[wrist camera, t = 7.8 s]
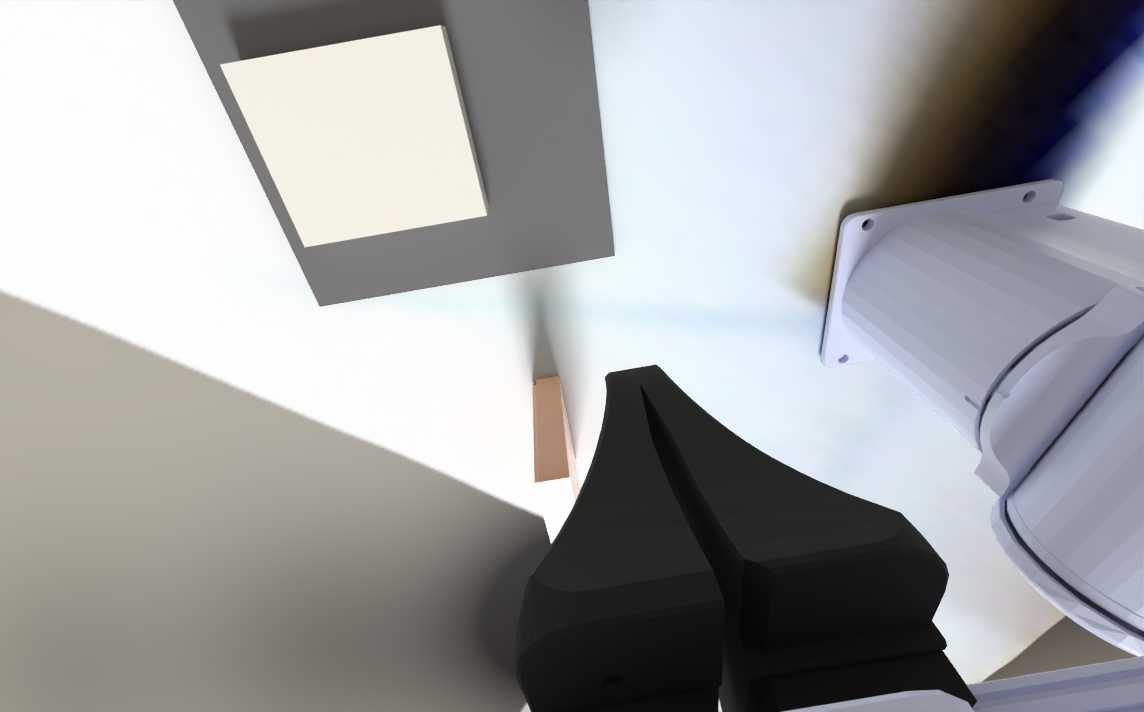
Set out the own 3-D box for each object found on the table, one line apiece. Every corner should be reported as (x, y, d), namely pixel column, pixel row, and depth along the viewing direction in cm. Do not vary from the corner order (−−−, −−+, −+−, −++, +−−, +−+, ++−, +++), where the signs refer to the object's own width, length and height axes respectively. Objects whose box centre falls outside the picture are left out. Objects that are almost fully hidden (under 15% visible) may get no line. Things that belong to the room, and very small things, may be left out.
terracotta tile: (558, 375, 25) (569, 477, 19) (576, 460, 28) (589, 570, 22) (531, 379, 25) (533, 483, 19) (551, 464, 28) (558, 575, 22)
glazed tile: (440, 25, 15) (219, 64, 15) (487, 215, 18) (304, 247, 18) (446, 27, 16) (241, 63, 16) (489, 205, 20) (317, 235, 20)
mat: (573, -117, 15) (574, -120, 15) (613, 252, 21) (614, 255, 21) (160, -42, 15) (151, -44, 15) (322, 302, 22) (320, 306, 21)
